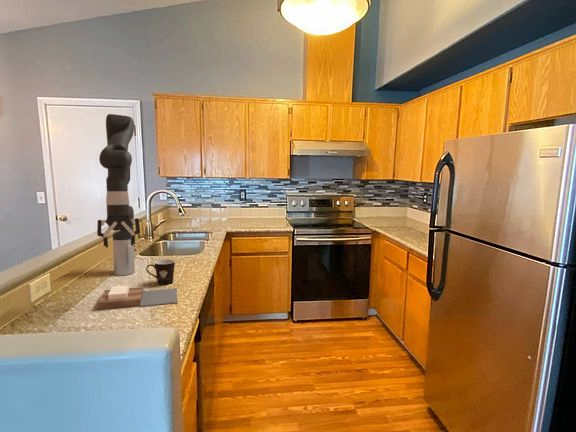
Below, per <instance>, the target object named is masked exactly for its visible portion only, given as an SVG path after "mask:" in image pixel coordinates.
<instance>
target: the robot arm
mask: <svg viewBox="0 0 576 432" xmlns="http://www.w3.org/2000/svg"><path fill="white" fill-rule="evenodd" d="M105 130H106V131H105V132H106V142H107V143H106V144H107V145H106V146H105V147H104V148H103V149H102V150H101V152H100V153H99V159H98V160H99V163H100V165H101V167H103V168H104V169H107V177H106V180H105V181H106V197H105V198H106V199H105V200H106V201H105V203H106V219H98V220H97V229H96V231H97V232H96V235H97V237H102V238H103V239H102V240H103V241H102V242H103V246H104V247H105V248H109V237H108V235H110V233H111V232H112V231H115V232H113V233H112V253H113V255H112V257H113V260H112V261H113V275H115V276H128V275H133V274H134V273H136V267H135V264H136V262H135V244H136V235H138V234H140V233H141V229H140V228H141V227H140V220H139V218H138V217H136V218H134V217H135V213H134V212H135V211H134V208H133V207H132V206H131V205H130V197H129V187H128V186H129V184H130V181H131V166H132V162H133V158H132V154H131V153H130V152H129V144H130V143H131V140H132V138H133V136H134V132H135V122H134V119H133V117H132V116H129V115H122V114H115V113H114V114H113V113H108V114H107V115H106V117H105ZM105 224H106V225H107V226H108V227H107V229H105V231H104V232H102V226H104V225H105ZM134 225H135V230H134ZM132 273H133V274H132Z"/></svg>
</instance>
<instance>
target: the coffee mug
mask: <svg viewBox="0 0 576 432" xmlns="http://www.w3.org/2000/svg"><path fill="white" fill-rule="evenodd" d="M175 264H176V260H174V259H170V258H167V259H166V258H165V259H158V260H156V261H154V264H148V265H146V267H145V271H146V272H147V273H148V274H149V275H151V276H153V277H155V278H156V280H157V285H158V286H162V285H163V286H170V285H172V284H173V283H174V273H175V267H176V266H175ZM149 267H153V268H154V270H155V274H156V275H155V274H154V273H151V272H150V271H149V270H148V268H149ZM169 284H170V285H169ZM163 286H162V287H163Z"/></svg>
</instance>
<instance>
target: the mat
mask: <svg viewBox="0 0 576 432" xmlns="http://www.w3.org/2000/svg"><path fill="white" fill-rule="evenodd" d="M172 304H173V305H174V304H178V289H177V287H176V288H174V287H173V288H164V289H151V290H144V292H143V296H142V300H141V304H140V306H139V307H141V308H143V307H151V306H154V307H155V306H163V305H172Z"/></svg>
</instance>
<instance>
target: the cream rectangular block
mask: <svg viewBox="0 0 576 432" xmlns="http://www.w3.org/2000/svg"><path fill="white" fill-rule="evenodd" d="M129 288H130V285H119V286H118V285H116V286H111V289H109V290H110V292H109V294H108V300H114V299H125V298H127V295H128V292H129Z"/></svg>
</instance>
